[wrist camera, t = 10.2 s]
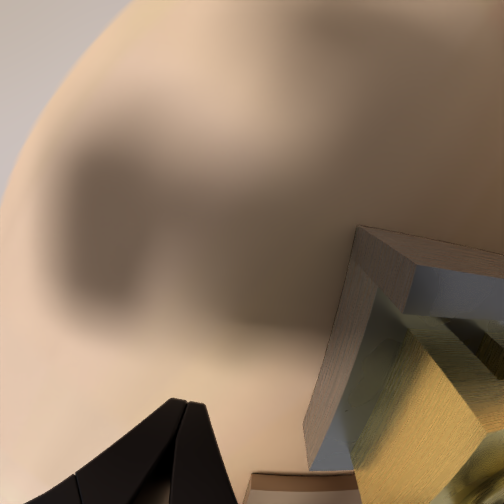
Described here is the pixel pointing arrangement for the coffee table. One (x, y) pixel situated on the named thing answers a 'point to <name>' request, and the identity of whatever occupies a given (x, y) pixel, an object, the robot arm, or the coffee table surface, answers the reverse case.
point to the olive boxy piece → (436, 425)
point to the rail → (394, 326)
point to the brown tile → (302, 490)
